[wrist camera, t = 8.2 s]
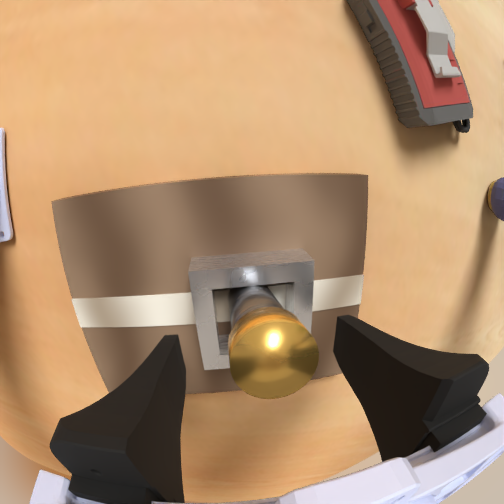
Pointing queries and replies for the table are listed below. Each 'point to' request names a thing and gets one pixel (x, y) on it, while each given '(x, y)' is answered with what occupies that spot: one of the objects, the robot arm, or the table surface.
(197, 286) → the pilot socket
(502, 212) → the rubber mallet
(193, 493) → the table surface
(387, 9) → the walkie-talkie
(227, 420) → the table surface
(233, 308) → the gold-capped cylinder
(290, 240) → the board
